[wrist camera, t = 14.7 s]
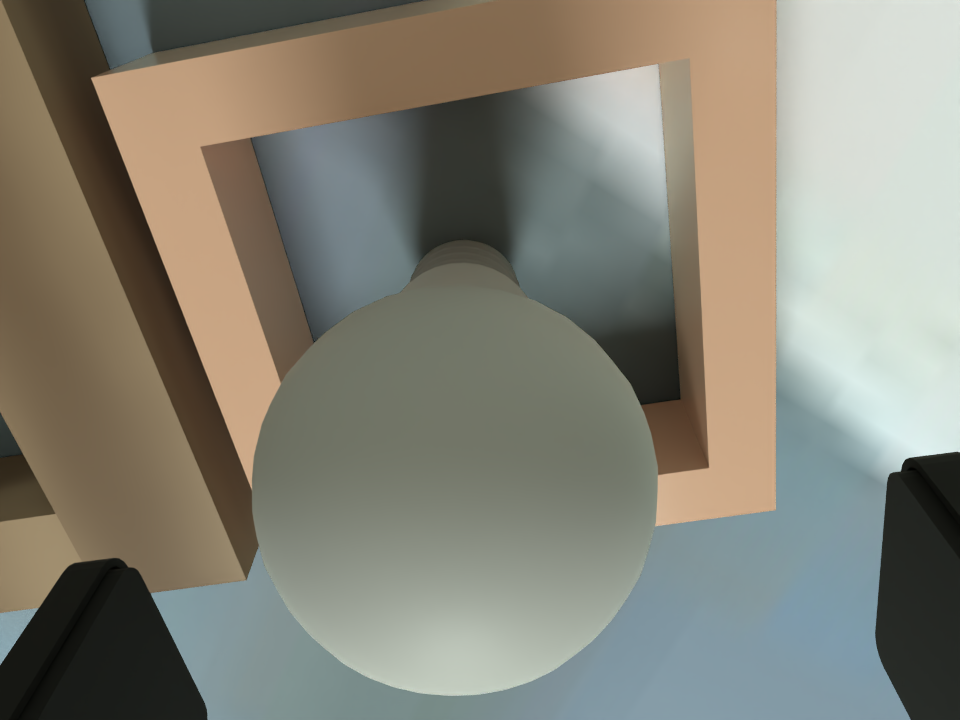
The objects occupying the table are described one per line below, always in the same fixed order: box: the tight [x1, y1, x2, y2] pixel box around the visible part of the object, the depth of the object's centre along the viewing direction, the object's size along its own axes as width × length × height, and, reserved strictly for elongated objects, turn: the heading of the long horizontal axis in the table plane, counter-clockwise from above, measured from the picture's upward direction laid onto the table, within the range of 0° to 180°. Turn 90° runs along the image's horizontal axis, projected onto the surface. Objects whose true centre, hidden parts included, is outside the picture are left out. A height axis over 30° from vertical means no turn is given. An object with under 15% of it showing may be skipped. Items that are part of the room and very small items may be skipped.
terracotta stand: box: [91, 0, 776, 526], centre depth 18 cm, size 12×12×3 cm
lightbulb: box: [252, 240, 658, 696], centre depth 15 cm, size 6×6×11 cm
